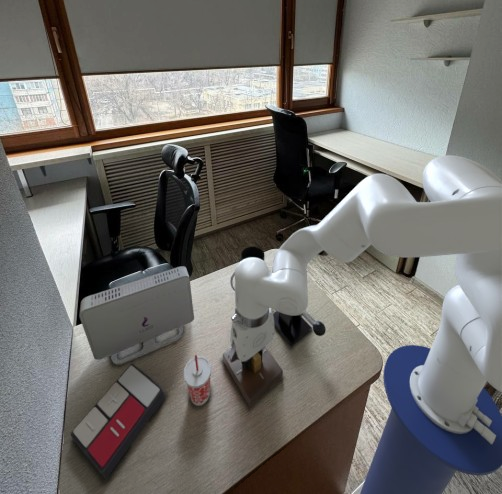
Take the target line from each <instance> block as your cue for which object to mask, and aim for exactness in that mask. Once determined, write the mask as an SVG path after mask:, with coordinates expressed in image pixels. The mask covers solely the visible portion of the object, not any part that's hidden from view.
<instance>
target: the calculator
mask: <svg viewBox="0 0 502 494" xmlns="http://www.w3.org/2000/svg"><path fill="white" fill-rule="evenodd" d="M165 399H166V395H165V392H164V389H163V388H162V387H161V386H160V385H159V384H158V383H156V382H155V381H154V380H153V379H152V378H151V377H149V376H148V375H147V374H146V373H144V371H142V370H141V369H140V368H138V366H136V365H135V364H134V363H130V365H129V366H128V367H127V368H126V369H125V370H124V371H123V373H121V375H120V376H119V377H118V378H117V379H116V380H115V382H114V383H113V384H112V385H111V386H110V387H109V388H108V390H107V391H105V393H104V394H103V395H102V397H101V398H100V399H99V400H98V401H97V402H96V404H94V406H93V407H91V409H90V410H89V411H88V412H87V414H86V415H85V416H84V418H82V419H81V420H80V421H79V423H78V424H77V425H76V426H75V428H74V429H73V430H72V431H71V432H70V437H71V438H72V441H74V443H75V444H76V445H77V446H78V448H79V449H80V450H81V452H83V454H84V455H85V456H86V458H87V459H88V460H89V461H90V463H91V464H92V465H93V466H94V467H95V469H96V470H97V471H98V472H99V473H100V475H101V476H102V477H103V478H104V479H108V478H109V476H110V475H111V473H113V471H114V469H115V468H116V466H117V465H118V464H119V462H120V461H121V459H122V458H123V456H124V455H125V453H126V452H127V451H128V449H129V448H130V446H131V445H132V444H133V442H134V441H135V440H136V439H137V437H138V435H139V434H140V432H141V431H142V430H143V428H144V427H145V425H146V424H147V423H148V421H149V419H151V418H152V417H153V416H154V415H155V413H156V412H157V410H159V408H160V406H161V405H162V403H163V402H164V400H165Z"/></svg>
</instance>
